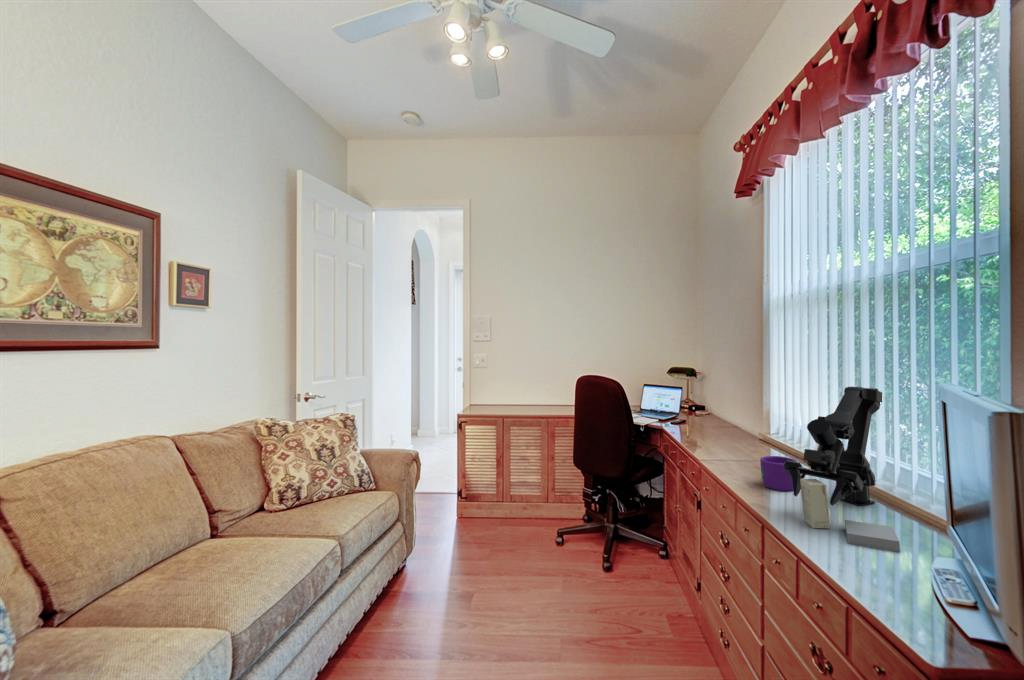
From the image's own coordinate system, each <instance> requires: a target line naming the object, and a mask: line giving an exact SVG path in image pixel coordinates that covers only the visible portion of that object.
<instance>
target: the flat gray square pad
mask: <svg viewBox="0 0 1024 680" xmlns="http://www.w3.org/2000/svg"><path fill="white" fill-rule="evenodd" d="M844 530H845V534H846V538H847V543H848V544H849V543H850V545H855V544H856V545H857V546H862V547H869V548H874V549H879V548H881V549H880V550H885V549H886V550H887V551H891V550H892V551H893V552H898V553H901V548H900V545H901V544H900V539H899V538H898V536H897V535H898V534H897V533H896V531H895V529H894V527H893V525H892V526H890V525H883V524H877V523H870V522H865V521H864V522H863V521H857V520H849V519H844ZM892 551H891V552H892Z"/></svg>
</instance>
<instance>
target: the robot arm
mask: <svg viewBox="0 0 1024 680" xmlns="http://www.w3.org/2000/svg"><path fill="white" fill-rule="evenodd" d="M843 392H844V393H843V396H842V397H841V399H840V401H839V403H838V405H837V407H836V408H835V411H834V412H832V413H829V414H827V415H826V416H820V415H819V416H818V417H817V418H816V419H812V420H811V421H810V422H809V423H807V425H806V429H807V431H808V432H809V434H810V436H811V437H812V439H813V441H814V442H815V443H816V444H817V445H818V447H817V449H809V448H808V449H807V448H804V451H803V457H802V458H803V461H806V465H808V467H810V468H806V467H803V465H802V464H801V462H799V461H797V462H794V461H789V460H787V461H785V462H784V464H783V468H784V469H785V471H786V472H787V474H788V475H789V476H790V477H792V480H793V490H792V491H793V496H794V497H798V496H799V494H800V493H801V483H800V479H806V478H805V477H806V476H810V477H814V478H821V479H824V480H825V479H826V480H828V481H829V480H831V481H836V482H835V486H834V490H833V492H832V495H831V497H830V501H829V504H830V506H834V505H836V504H837V503H838V502H839V501H840V500H841V501H845V502H848V503H850V504H854V505H855V506H856V505H857V506H859V507H861V506H866V505H872V504H873V505H874V504H876V501H875V500H871V499H870V498H871V496H870V487H876V476H875V474H874V472H873V471H872V469H871V464H870V462H869V461H868V458H867V457H866V452H867V450H866V449H867V444H868V439H869V433H870V428H871V422H872V417H873V415H874V414H875V413H877V411H878V410H880V408H881V404H880V402H881V403H882V402H883V401H882V394H883V392H882V391H880V390H879V389H878V388H874V387H872V388H871V387H862V386H845V387H844V390H843ZM842 440H848V441H847V446H846V449H845V446H844V445H845V444H844V443H843V441H842Z"/></svg>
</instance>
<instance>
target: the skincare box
mask: <svg viewBox="0 0 1024 680" xmlns="http://www.w3.org/2000/svg"><path fill="white" fill-rule="evenodd" d="M800 483H801V490H800V493H801V505H802V517H803V521H804V522H805V523H806V524H807V525H809V526H810V527H812V529H830V528H831V526H830V513H829V503H828V494H827V493H828V491H827V484H825V483H824V482H822V481H820V480H819V479H816V478H803V479H800Z"/></svg>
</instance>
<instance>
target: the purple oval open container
mask: <svg viewBox="0 0 1024 680" xmlns="http://www.w3.org/2000/svg"><path fill="white" fill-rule="evenodd" d="M787 460H789V461H794V462H798V461H797V460H795V459H794V458H791V457H787V456H779V455H778V456H777V455H768V456H767V455H766V456H763V457H760V471H761V472H760V474H761V479H762V482H763V485H764V486H765V487H766V488H768V489H770V488H771V489H770V490H773V489H774V490H773V491H779V490H780V492H789V491H794V490H793V480H792V477H790V476H789V475H788V474H787V472H786V471H785V469H784V468H783V464H784V462H785V461H787Z"/></svg>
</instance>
